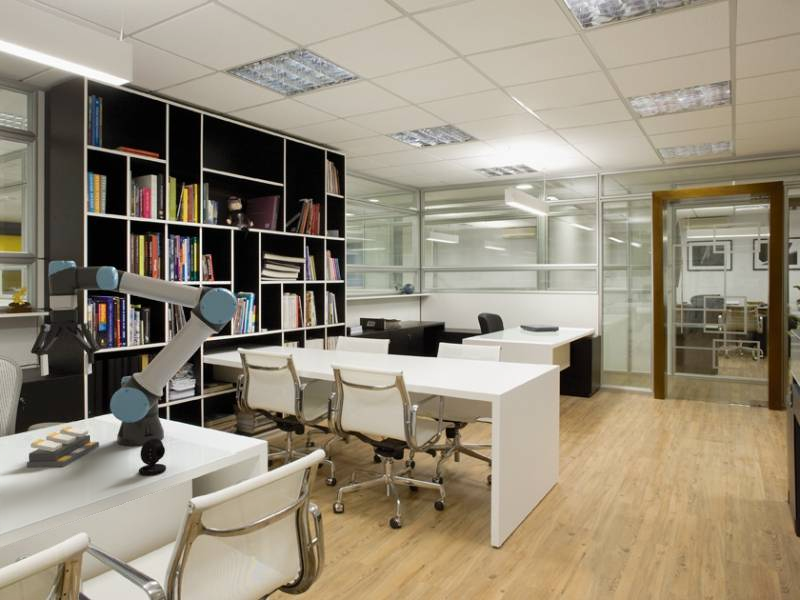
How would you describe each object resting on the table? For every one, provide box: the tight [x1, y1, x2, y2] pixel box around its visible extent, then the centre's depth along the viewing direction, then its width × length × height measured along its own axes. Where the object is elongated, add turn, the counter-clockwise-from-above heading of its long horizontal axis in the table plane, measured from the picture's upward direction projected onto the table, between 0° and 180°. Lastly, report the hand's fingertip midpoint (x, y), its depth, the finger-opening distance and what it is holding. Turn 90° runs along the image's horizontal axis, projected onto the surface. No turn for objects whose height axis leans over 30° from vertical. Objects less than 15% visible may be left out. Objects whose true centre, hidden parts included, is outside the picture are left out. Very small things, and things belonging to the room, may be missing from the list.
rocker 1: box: [30, 438, 62, 452], centre depth 172 cm, size 7×4×1 cm, turn 92°
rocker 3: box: [59, 425, 89, 437], centre depth 187 cm, size 7×4×1 cm, turn 92°
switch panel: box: [26, 434, 100, 468], centre depth 180 cm, size 11×21×4 cm, turn 2°
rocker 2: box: [45, 431, 76, 444], centre depth 180 cm, size 7×4×1 cm, turn 92°
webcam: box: [138, 438, 167, 477], centre depth 165 cm, size 8×8×10 cm
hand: (66, 374), depth 179 cm, fingers open, 13 cm apart
